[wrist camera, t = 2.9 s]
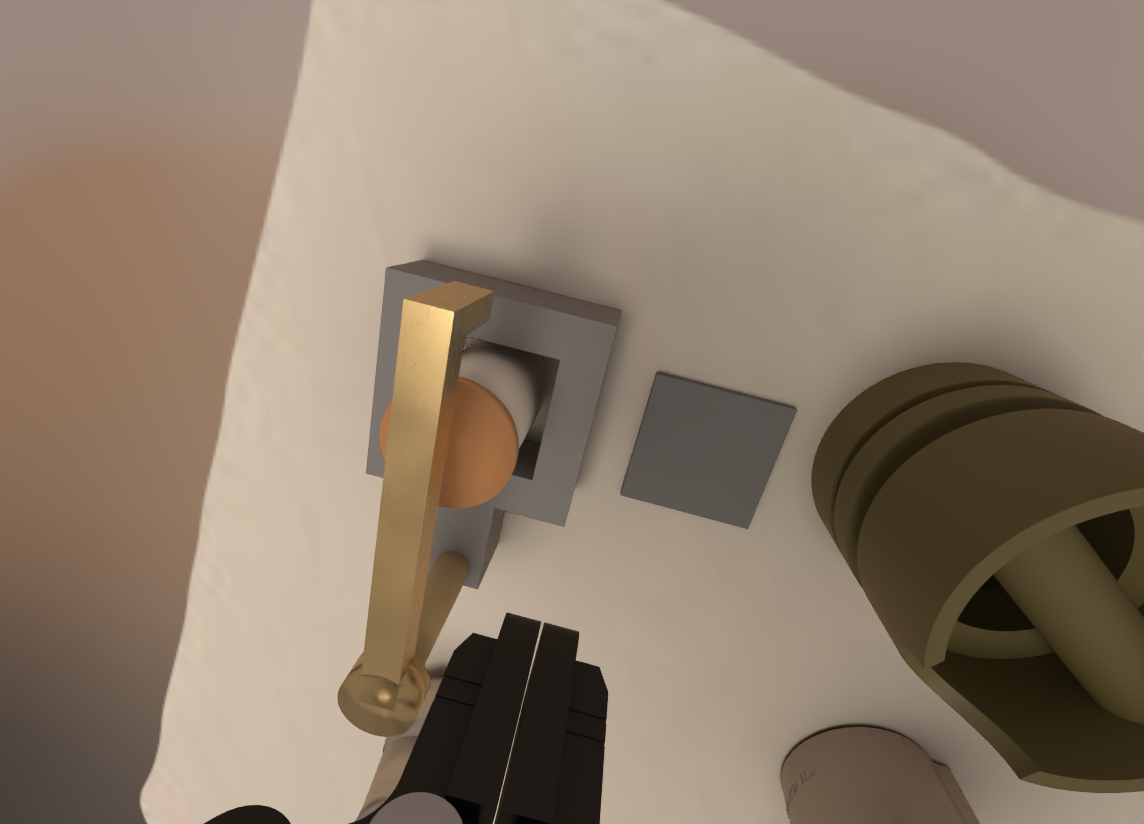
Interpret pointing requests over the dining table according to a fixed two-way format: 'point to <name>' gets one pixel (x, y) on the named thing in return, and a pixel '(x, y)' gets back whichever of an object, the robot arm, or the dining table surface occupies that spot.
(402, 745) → the plastic bottle
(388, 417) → the plug
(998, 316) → the dining table surface
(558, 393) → the socket block
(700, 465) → the mat
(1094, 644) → the piston
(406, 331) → the lever
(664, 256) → the dining table surface
